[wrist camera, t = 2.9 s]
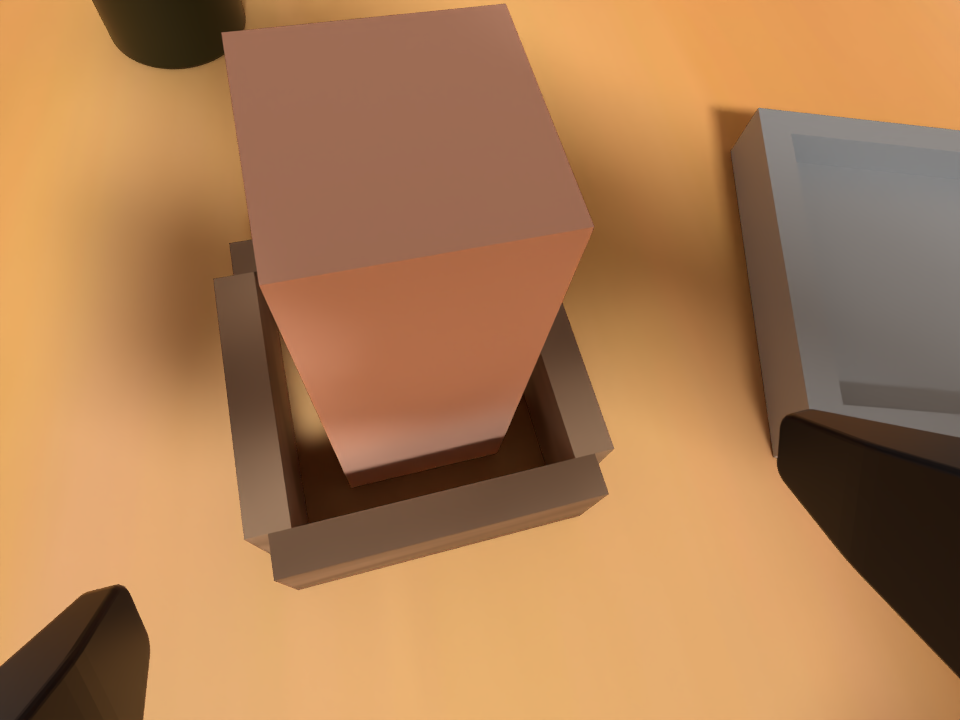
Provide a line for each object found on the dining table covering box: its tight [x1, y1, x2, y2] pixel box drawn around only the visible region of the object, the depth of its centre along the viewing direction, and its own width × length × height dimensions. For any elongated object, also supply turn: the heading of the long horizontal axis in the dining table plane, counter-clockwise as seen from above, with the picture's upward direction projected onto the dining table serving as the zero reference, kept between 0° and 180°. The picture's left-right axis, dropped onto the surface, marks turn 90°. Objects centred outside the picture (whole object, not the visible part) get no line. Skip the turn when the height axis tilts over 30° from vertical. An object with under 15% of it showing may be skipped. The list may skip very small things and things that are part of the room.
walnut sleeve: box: [213, 240, 614, 590], centre depth 20 cm, size 10×10×4 cm
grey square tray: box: [731, 108, 960, 458], centre depth 24 cm, size 14×14×2 cm
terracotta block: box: [222, 4, 594, 488], centre depth 16 cm, size 5×5×13 cm
